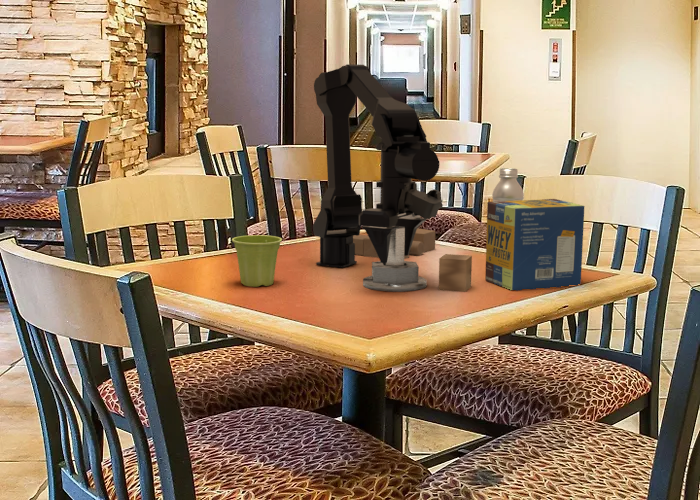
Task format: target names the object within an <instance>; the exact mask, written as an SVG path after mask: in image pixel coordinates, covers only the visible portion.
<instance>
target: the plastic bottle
mask: <svg viewBox="0 0 700 500" xmlns="http://www.w3.org/2000/svg"><path fill="white" fill-rule="evenodd" d="M518 170H519V169H517V168H511V167H510V168H508V167H507V168H505V167H503V168H499V175H498V177H499V179H500V180H499V182H498V183H497V184H496V185H495V187H494V189H493V192H492V193H491V194H492V195H491V196H492V202H498V201H521V200H525V199H524V198H525V197H524V196H525V193H524V189H523V188H522V187H521V184H520V183H519V182H518V180H517V179H519V175H518Z"/></svg>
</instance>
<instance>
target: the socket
mask: <svg viewBox="0 0 700 500" xmlns="http://www.w3.org/2000/svg"><path fill="white" fill-rule="evenodd" d="M419 273H420V272H419V264H418V263H417V261H410V260H409V261H408V260H404V266H398V267H394V266H386V263H381V261H380V260H379V261H378V260H377V261H372V262H371V275H368V276H366V277H363V279H362V286H363V287H364V288H366V289H369V290H373V291H378V292H379V291H380V292H393V293H394V292H395V293H396V292H398V293H401V292H404V293H405V292H413V291H419V290H422V289H423V290H424V289H425V288H427V284H428V280H427V278H425V277H422V276H419Z"/></svg>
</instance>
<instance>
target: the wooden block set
mask: <svg viewBox="0 0 700 500" xmlns="http://www.w3.org/2000/svg"><path fill="white" fill-rule="evenodd" d="M353 243H355V256H363V257H366V258H367V257H368V258H373V259H375V258H376V259H379V257H378V255H377V253H376V250H375V248H374V246H373V244H372V242H371V240H370V238H369V236H368V235H367V234H359V235H358V236H356V235H353ZM431 251H436V230H432V229H424V228H419V227H418V228H417V230H416V233H415V236H414V239H413V242H412V245H411V249H410V252H409V255H408V256H405V255H404V260H406V259H408V258H410V256H422V255H423V253H424V254H425V253H427V252H431Z"/></svg>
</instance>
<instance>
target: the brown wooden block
mask: <svg viewBox="0 0 700 500" xmlns="http://www.w3.org/2000/svg"><path fill="white" fill-rule="evenodd" d="M438 259H439V261H438V263H439V264H438V291H444V292H445V291H446V292H461V293H466V292H468V290H470V288H471V287H472V270H473V269H472V267H473V266H472V264H473V261H472V260H473V255H465V254H454V253H450V254H448V253H445V254H444V255H442V256H441V257H439V258H438Z"/></svg>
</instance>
